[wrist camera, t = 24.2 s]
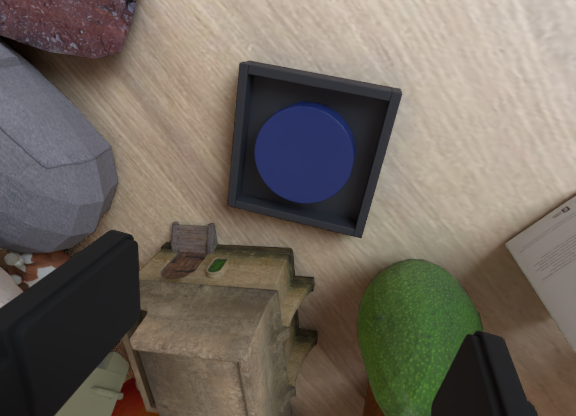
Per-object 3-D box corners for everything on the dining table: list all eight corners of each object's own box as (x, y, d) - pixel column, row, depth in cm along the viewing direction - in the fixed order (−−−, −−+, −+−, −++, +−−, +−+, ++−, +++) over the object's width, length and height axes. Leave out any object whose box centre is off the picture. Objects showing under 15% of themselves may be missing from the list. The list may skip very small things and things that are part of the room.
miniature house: (311, 225, 29) (274, 328, 19) (318, 359, 35) (293, 492, 25) (142, 220, 33) (35, 303, 22) (174, 342, 38) (100, 452, 28)
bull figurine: (-74, 260, 28) (-17, 233, 36) (77, 360, 32) (98, 316, 40) (-30, 219, 28) (17, 201, 36) (114, 323, 32) (128, 287, 40)
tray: (400, 88, 24) (402, 93, 22) (362, 225, 28) (361, 238, 27) (249, 60, 25) (239, 62, 23) (236, 195, 30) (227, 205, 28)
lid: (268, 92, 25) (260, 96, 24) (365, 111, 24) (364, 117, 23) (257, 182, 28) (249, 191, 27) (343, 202, 27) (341, 213, 26)
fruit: (489, 269, 27) (557, 416, 17) (430, 337, 31) (455, 493, 21) (391, 221, 28) (397, 338, 17) (344, 295, 31) (325, 428, 21)
